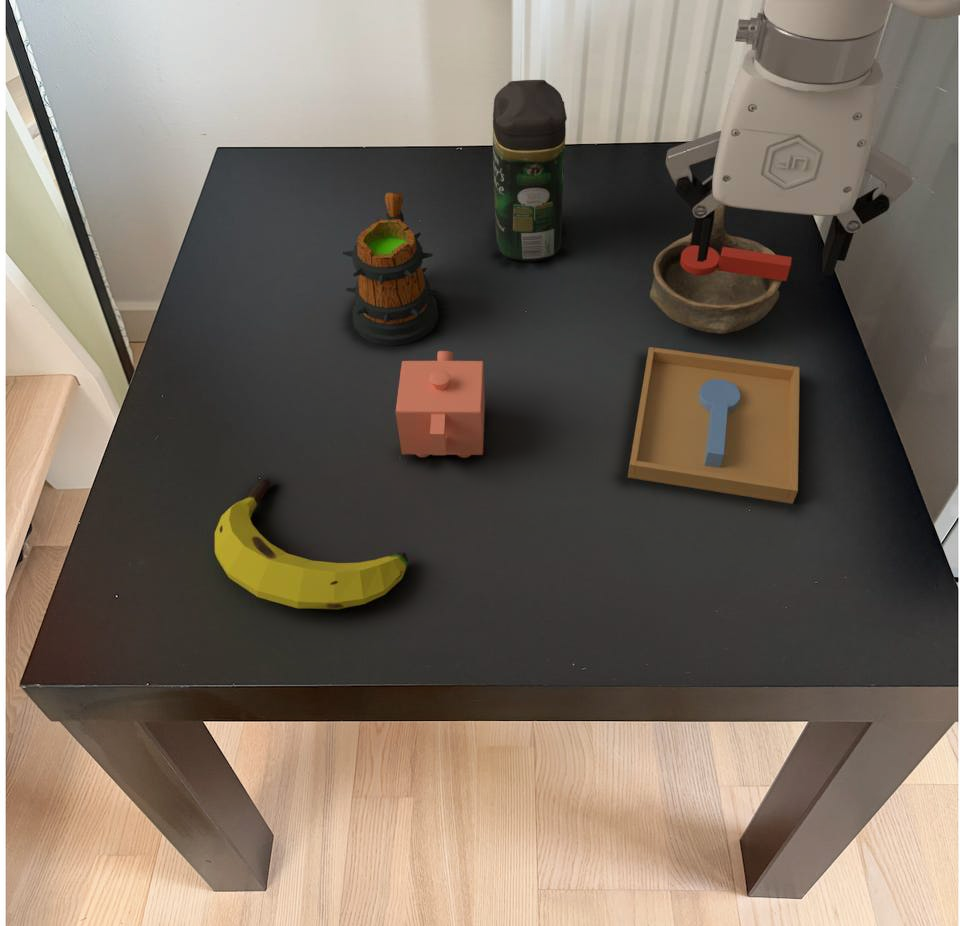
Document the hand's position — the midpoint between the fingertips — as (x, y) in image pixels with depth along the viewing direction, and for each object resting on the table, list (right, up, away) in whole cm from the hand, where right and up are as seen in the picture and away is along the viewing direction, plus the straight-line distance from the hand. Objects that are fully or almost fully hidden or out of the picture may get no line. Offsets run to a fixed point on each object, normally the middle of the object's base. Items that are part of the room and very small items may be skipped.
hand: (764, 257), depth 72 cm
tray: (+1, -13, +18) cm, 22 cm away
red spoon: (+4, +4, +23) cm, 24 cm away
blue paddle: (+1, -13, +17) cm, 21 cm away
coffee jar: (-17, +10, +38) cm, 43 cm away
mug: (-32, +1, +31) cm, 44 cm away
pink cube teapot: (-26, -13, +19) cm, 35 cm away
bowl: (+3, +2, +30) cm, 30 cm away
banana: (-37, -24, +10) cm, 46 cm away
